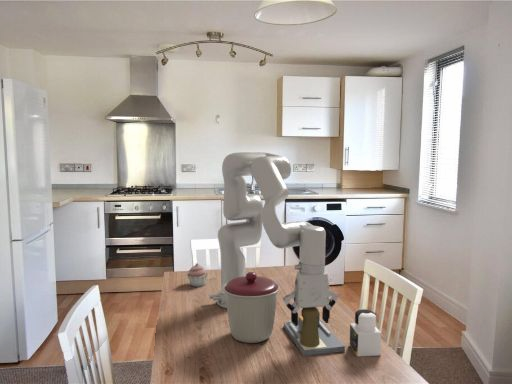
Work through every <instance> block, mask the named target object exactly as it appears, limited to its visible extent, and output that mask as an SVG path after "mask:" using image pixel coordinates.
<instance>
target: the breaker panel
mask: <svg viewBox="0 0 512 384" xmlns="http://www.w3.org/2000/svg"><path fill="white" fill-rule="evenodd" d="M325 324H326V323H325V322H324V321H323V320H322V319H319V326H318V332H319V341H320V344H319V345H318V346H316V347H305V346H303V345H301V344H300V336H301V334H300V333H299V332H298V325H297V326H295V325H294V323H293V322H292V321H291V319H290V320H287V322H283V328H284V329H285V331H286V333H287V334H288V335H289V338H291V340H292V342H293V343H294V345H295V346H296V348H297V349H298V350H299V352H300V353H301V355H302V356H303V357H307V356H314V355H321V354H322V355H325V354H330V353H331V354H332V353H340V352H345V351H346V349H345V348H346V347H345V344H344V343H342V341H341V340H340V339H339V338H338V337H337V336H336V335H335V334H334V332H332V331H331V330H330V328H329V327H328V326H327V325H325Z"/></svg>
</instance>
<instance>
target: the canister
mask: <svg viewBox="0 0 512 384" xmlns="http://www.w3.org/2000/svg"><path fill="white" fill-rule="evenodd" d="M223 290H224V292H225V295H226V304H227V308H226V309H227V311H226V312H227V318H228V326H229V330H230V333H231V335H232V337H233V338H234V339H235V340H237V341H239V342H242V343H246V344H256V343H261V342H264V341H266V340H268V339H269V337H270V336H271V334H272V333H273V329H274V324H275V317H276V309H277V299H278V292H279V291H280V285H279V284H278V283H277V282H276V281H274V280H272V279H271V278H268V277H264V276H261V275H260V276H259V275H257V273H255V272H253V271H249V272H247V273H245V276H244V277H238V278H235V279H232V280H230V281H229V282H227V283H226V284H224V286H223Z"/></svg>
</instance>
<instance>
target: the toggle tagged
mask: <svg viewBox="0 0 512 384" xmlns="http://www.w3.org/2000/svg"><path fill="white" fill-rule="evenodd" d="M302 323H303V317H302V315H298V332H299V333H300V334H301V329H302Z"/></svg>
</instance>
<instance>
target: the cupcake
mask: <svg viewBox="0 0 512 384" xmlns="http://www.w3.org/2000/svg"><path fill="white" fill-rule="evenodd" d="M186 276H187V279H188V280H189V284H190V286H191V287H194V288H201V287H203V286H205V284H206V281H207V277H208V272H206V268H204V267H203V266H202V265H201V264H200V263H198V262H196V263H195V265H192V266H191V268H189V270H188V272H187V275H186Z"/></svg>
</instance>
